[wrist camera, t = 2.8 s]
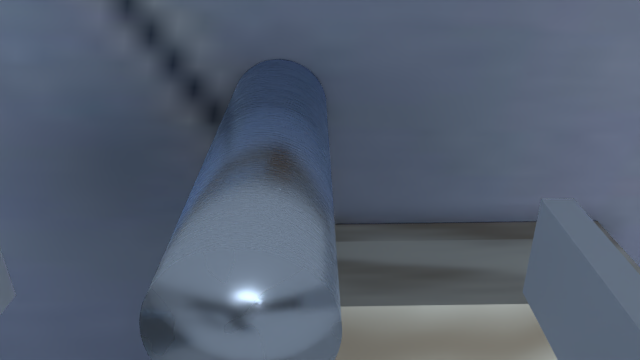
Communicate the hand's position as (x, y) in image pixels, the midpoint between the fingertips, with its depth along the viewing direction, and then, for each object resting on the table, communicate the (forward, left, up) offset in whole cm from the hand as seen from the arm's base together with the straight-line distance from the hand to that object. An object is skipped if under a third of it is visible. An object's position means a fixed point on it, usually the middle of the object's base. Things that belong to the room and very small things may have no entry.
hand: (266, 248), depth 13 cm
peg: (0, 0, -11) cm, 11 cm away
